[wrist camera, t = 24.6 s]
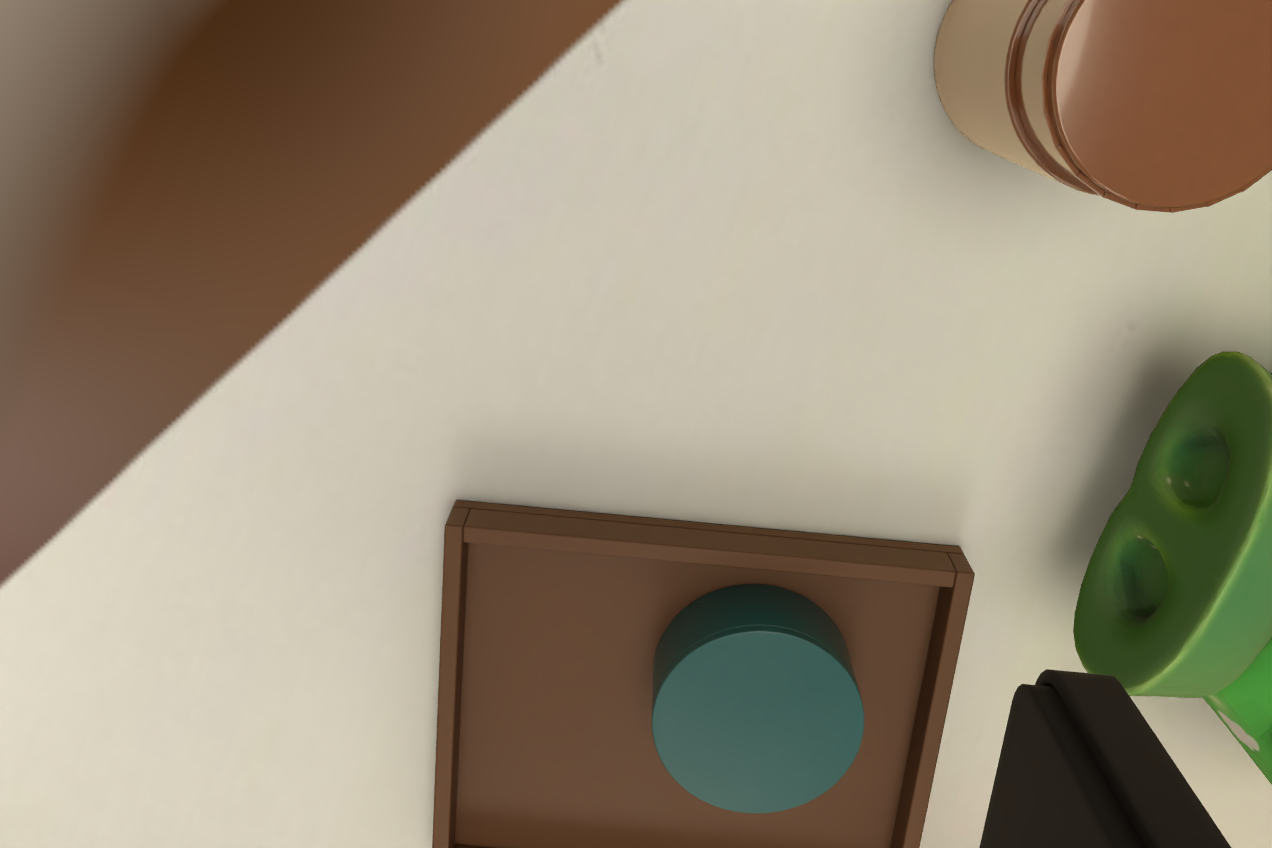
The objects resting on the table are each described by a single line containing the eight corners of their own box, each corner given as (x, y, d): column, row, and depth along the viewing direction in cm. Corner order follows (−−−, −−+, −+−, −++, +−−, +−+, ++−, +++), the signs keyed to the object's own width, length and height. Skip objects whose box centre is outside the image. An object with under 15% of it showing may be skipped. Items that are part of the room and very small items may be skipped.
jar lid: (690, 778, 43) (691, 838, 40) (622, 619, 41) (618, 669, 38) (874, 723, 42) (890, 779, 39) (815, 557, 40) (827, 603, 37)
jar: (918, 150, 36) (1019, 206, 26) (951, -63, 34) (1074, -96, 24) (1115, 166, 36) (1296, 229, 26) (1159, -46, 34) (1374, -71, 24)
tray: (441, 844, 45) (430, 882, 43) (455, 499, 40) (444, 524, 38) (893, 885, 45) (904, 926, 43) (960, 546, 40) (975, 573, 38)
